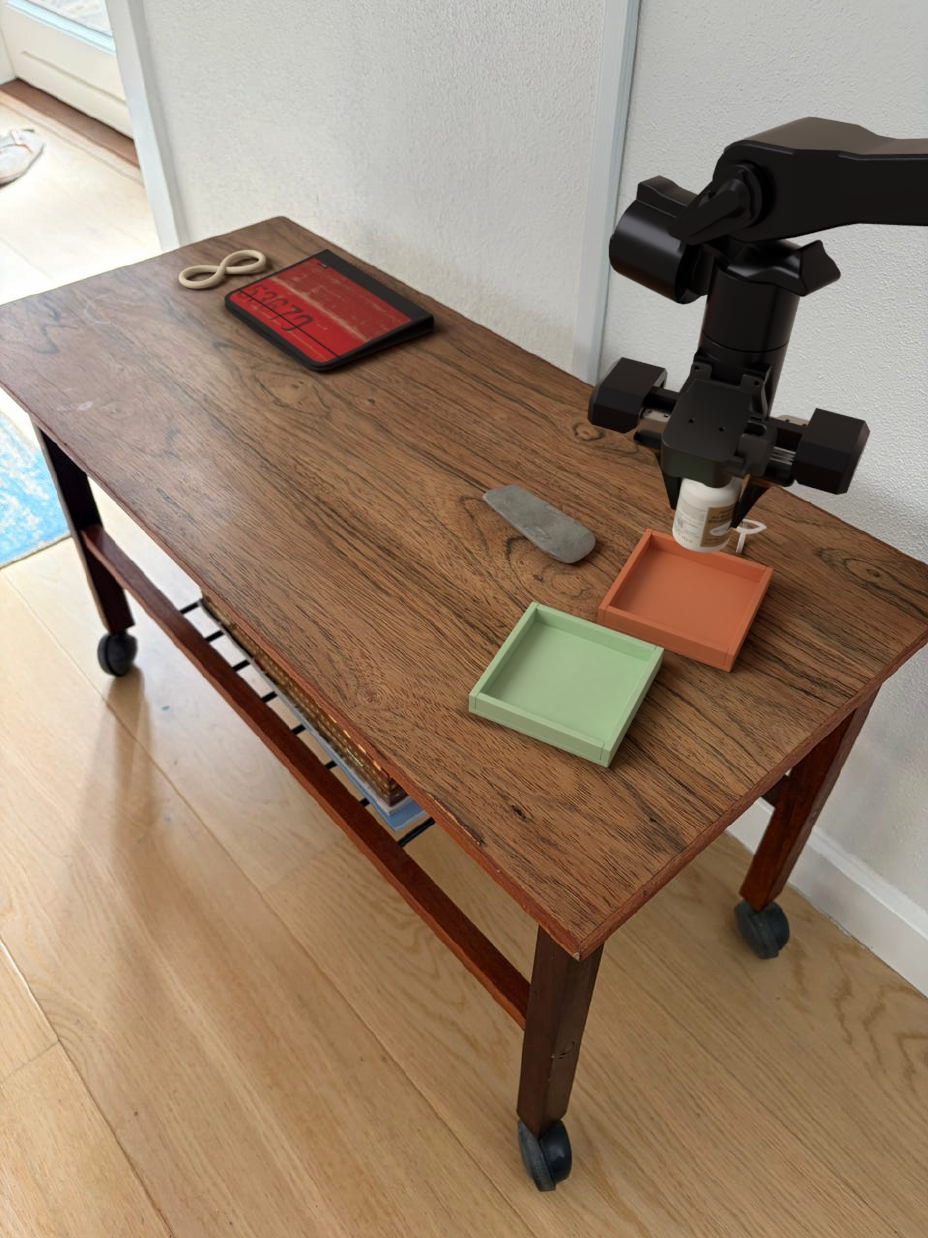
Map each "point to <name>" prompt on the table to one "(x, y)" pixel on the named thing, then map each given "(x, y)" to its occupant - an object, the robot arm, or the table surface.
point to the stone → (542, 523)
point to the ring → (747, 532)
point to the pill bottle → (705, 515)
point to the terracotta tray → (686, 599)
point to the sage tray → (567, 682)
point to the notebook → (327, 312)
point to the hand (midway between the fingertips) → (704, 515)
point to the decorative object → (222, 269)
